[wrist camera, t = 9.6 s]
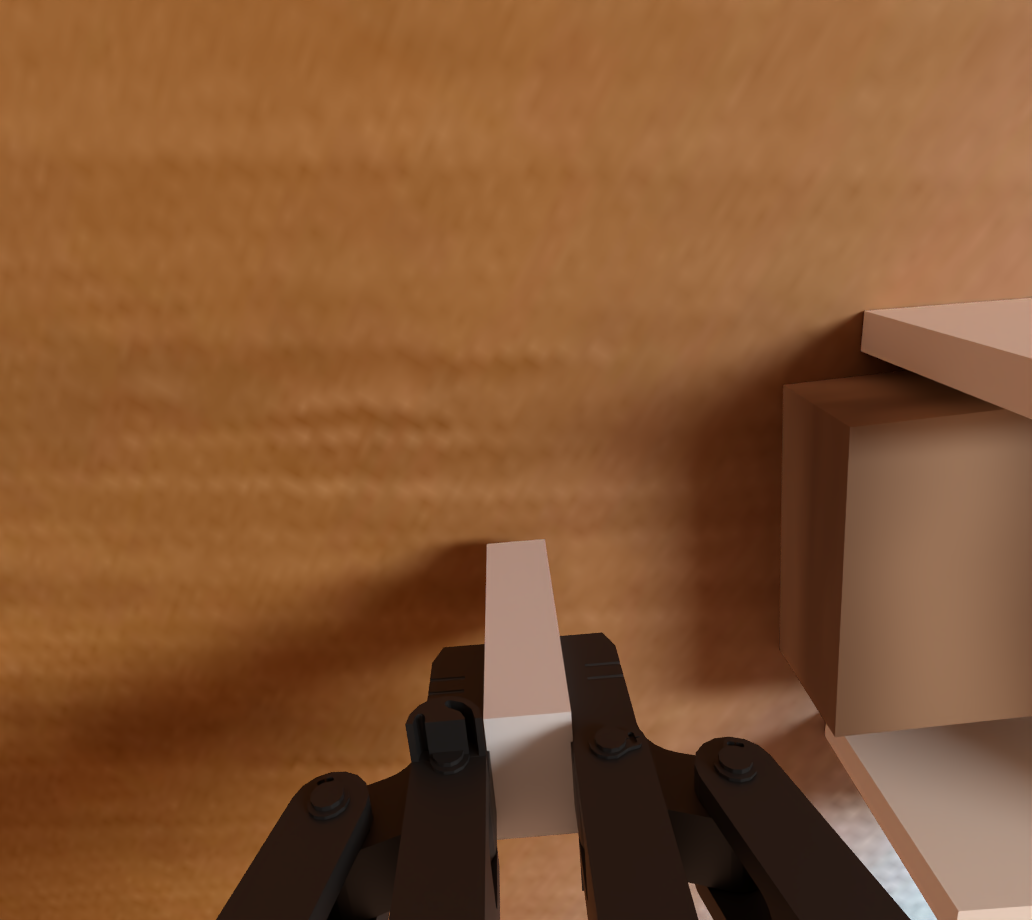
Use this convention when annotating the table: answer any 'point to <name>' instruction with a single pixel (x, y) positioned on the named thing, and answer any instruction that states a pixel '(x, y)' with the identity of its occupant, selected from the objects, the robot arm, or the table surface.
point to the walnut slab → (905, 553)
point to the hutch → (968, 746)
